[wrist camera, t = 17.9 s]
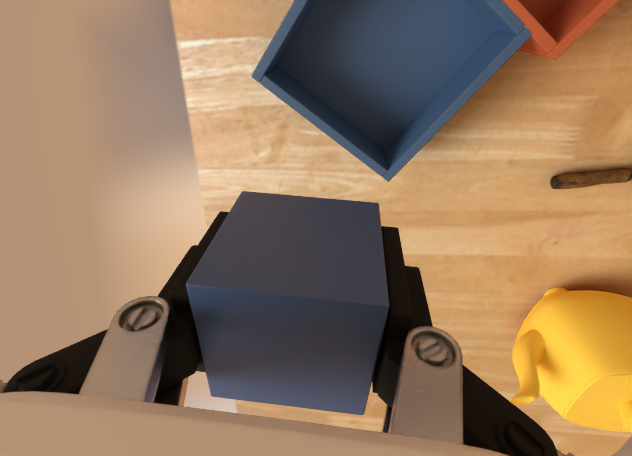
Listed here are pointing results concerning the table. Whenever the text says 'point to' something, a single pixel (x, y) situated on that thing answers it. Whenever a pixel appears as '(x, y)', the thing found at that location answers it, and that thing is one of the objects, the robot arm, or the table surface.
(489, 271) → the table surface
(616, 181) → the can opener
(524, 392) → the teapot
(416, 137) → the blue bin
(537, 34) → the terracotta bin
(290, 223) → the blue block
